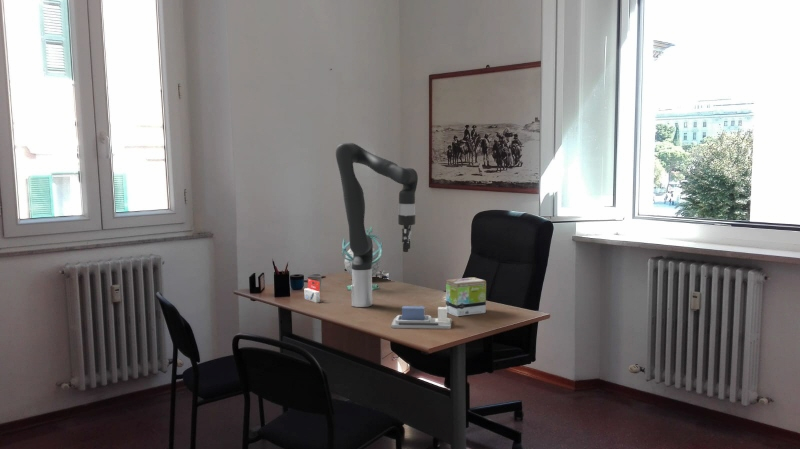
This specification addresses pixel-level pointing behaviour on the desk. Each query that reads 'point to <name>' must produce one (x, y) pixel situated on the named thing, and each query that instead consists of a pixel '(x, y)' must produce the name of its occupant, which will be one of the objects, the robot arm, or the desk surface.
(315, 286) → the ink cartridge box
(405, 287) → the desk surface
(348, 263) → the decorative sphere
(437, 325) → the dock
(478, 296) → the tea box
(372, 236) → the armillary sphere
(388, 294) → the desk surface
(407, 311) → the blue block
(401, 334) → the desk surface
